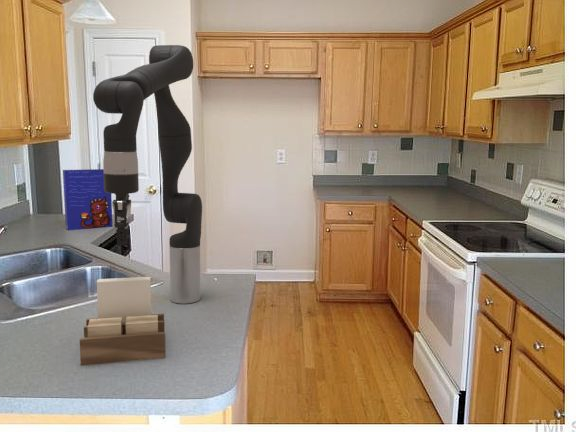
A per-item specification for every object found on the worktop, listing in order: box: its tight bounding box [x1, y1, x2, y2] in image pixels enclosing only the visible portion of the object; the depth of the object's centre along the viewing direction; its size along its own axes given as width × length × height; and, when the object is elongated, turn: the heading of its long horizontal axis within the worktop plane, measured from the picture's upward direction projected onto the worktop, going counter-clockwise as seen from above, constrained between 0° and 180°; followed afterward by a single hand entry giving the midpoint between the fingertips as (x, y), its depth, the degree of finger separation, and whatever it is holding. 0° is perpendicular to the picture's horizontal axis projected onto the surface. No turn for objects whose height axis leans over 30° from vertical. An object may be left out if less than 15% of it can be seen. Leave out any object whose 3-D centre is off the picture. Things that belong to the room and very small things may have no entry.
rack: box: [79, 313, 166, 366], centre depth 118 cm, size 13×18×7 cm
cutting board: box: [96, 276, 152, 323], centre depth 121 cm, size 2×12×16 cm, turn 105°
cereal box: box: [62, 168, 114, 231], centre depth 259 cm, size 22×6×30 cm, turn 122°
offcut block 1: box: [87, 317, 123, 338], centre depth 115 cm, size 4×7×8 cm, turn 105°
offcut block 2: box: [126, 315, 158, 335], centre depth 117 cm, size 4×7×8 cm, turn 105°
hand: (123, 241), depth 118 cm, fingers open, 8 cm apart
